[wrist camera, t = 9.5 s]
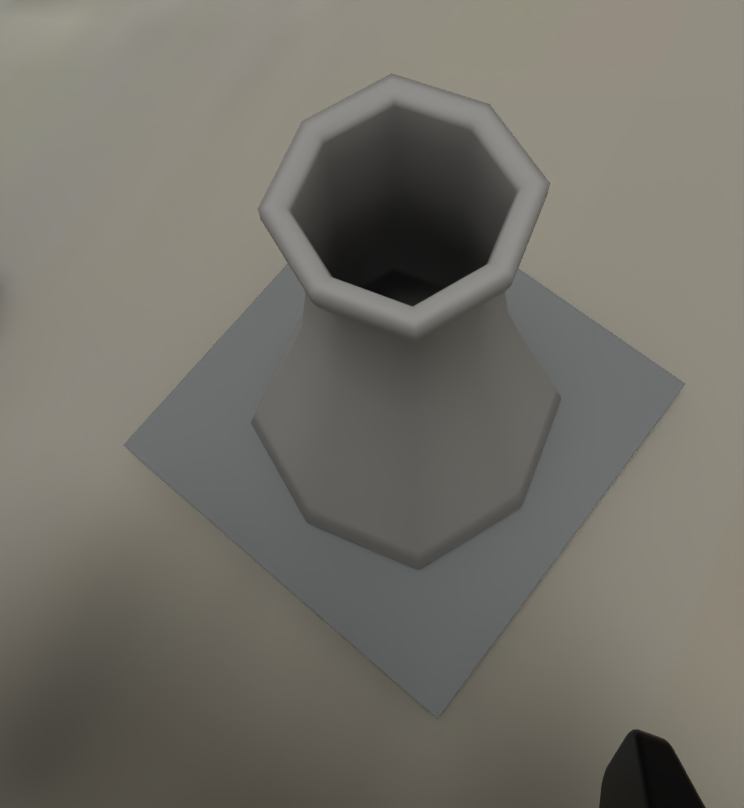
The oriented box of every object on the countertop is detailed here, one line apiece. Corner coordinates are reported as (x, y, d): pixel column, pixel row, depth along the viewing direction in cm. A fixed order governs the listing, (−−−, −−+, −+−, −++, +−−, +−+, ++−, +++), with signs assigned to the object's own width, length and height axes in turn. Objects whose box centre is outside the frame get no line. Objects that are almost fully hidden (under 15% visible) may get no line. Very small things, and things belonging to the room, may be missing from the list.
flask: (389, 230, 19) (372, -143, 10) (610, 397, 18) (854, 154, 8) (202, 429, 18) (-34, 232, 8) (423, 626, 16) (446, 665, 7)
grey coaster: (676, 390, 18) (685, 383, 18) (436, 714, 16) (437, 718, 16) (374, 181, 20) (373, 169, 20) (132, 450, 19) (123, 445, 18)
